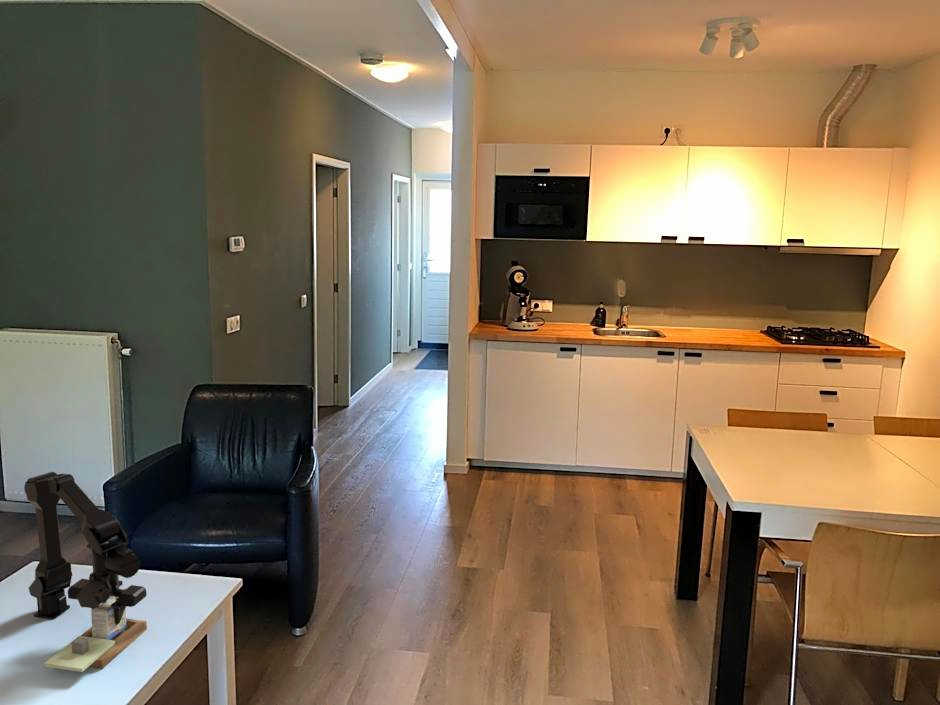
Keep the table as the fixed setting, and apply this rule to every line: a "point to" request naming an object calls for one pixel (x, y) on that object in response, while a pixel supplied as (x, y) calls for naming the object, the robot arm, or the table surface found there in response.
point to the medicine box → (106, 621)
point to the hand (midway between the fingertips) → (109, 622)
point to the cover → (80, 653)
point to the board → (119, 641)
